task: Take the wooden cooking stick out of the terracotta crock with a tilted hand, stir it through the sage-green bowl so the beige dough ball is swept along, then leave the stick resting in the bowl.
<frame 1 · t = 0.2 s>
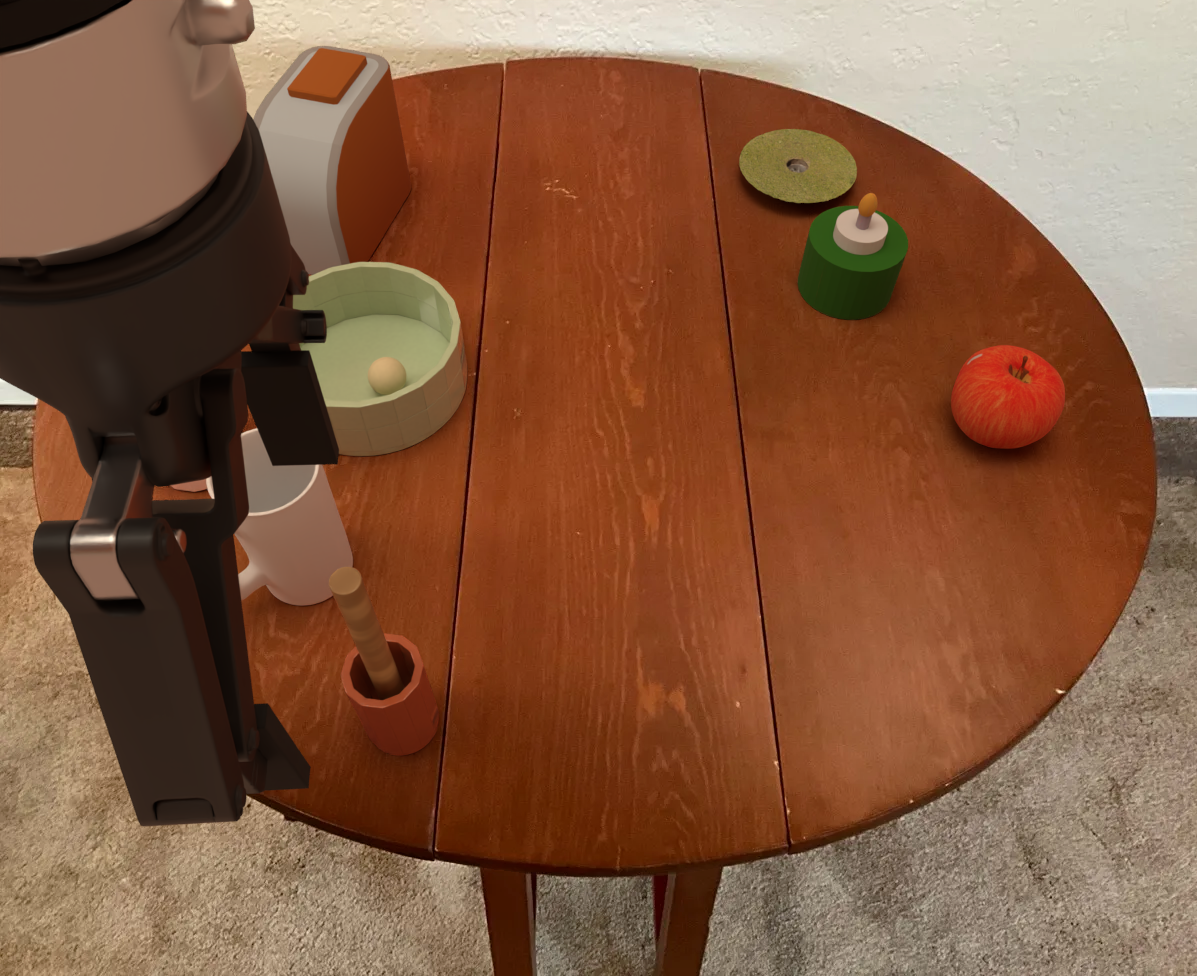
hand: (290, 603, 37), 26 cm above the table, tool pointing down, fingers open, 13 cm apart
mat: (794, 182, 94), on the table
white cup: (203, 458, 74), on the table
dough ball: (387, 376, 76), point 2 cm above the table, touching bowl
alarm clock: (346, 223, 90), on the table
bowl: (373, 381, 79), on the table
apple: (989, 428, 77), on the table
mug: (291, 584, 68), on the table
cooking stick: (402, 718, 62), resting on crock
crock: (403, 721, 62), on the table
candle: (843, 287, 86), on the table
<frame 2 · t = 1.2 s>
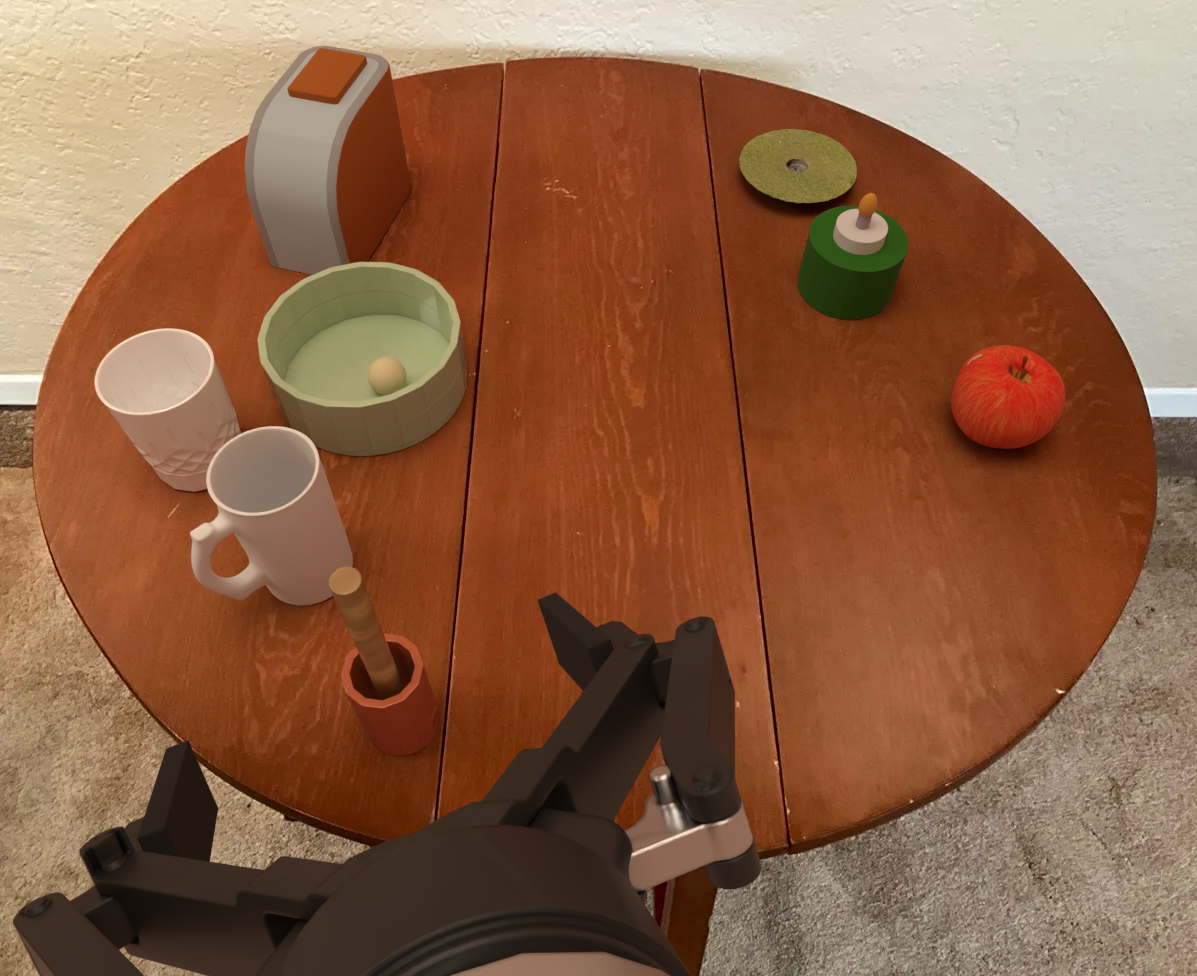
hand: (383, 699, 35), 27 cm above the table, tool tilted 45°, fingers open, 13 cm apart
nothing on the table moved.
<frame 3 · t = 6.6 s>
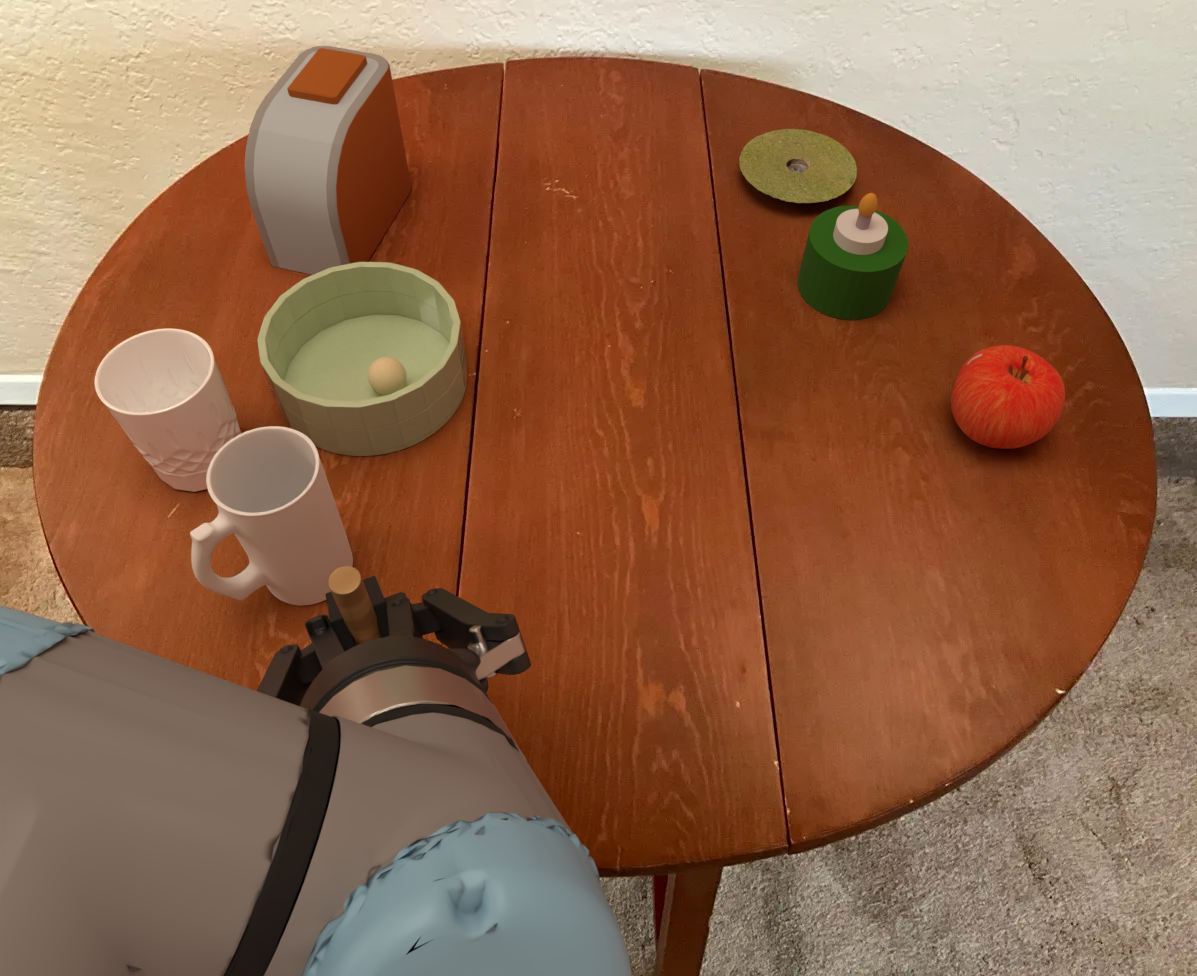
hand: (358, 605, 57), 9 cm above the table, tool tilted 45°, fingers closed on cooking stick, 1 cm apart
cooking stick: (401, 717, 62), point 1 cm above the table, touching gripper
everything else where it was.
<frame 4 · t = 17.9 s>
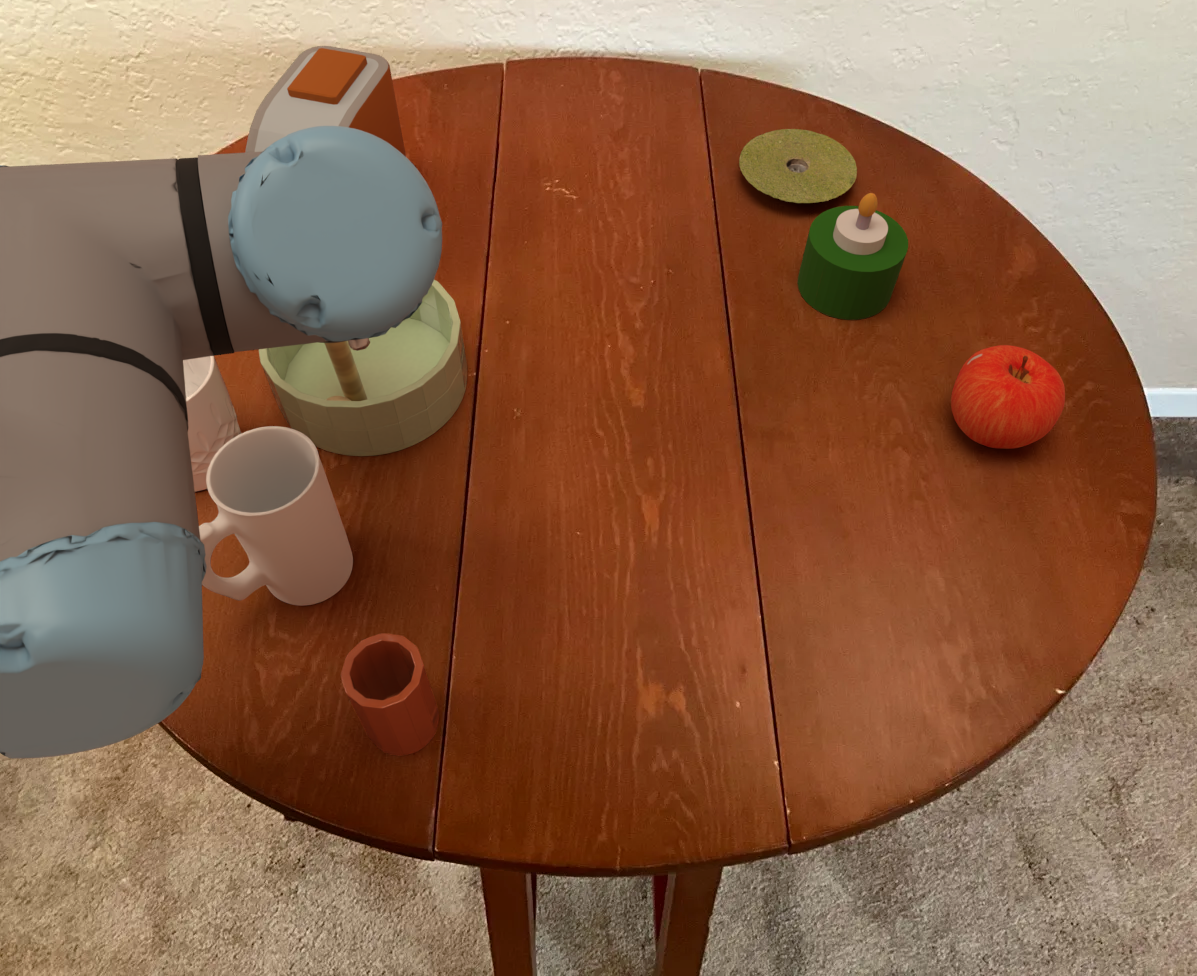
hand: (314, 295, 71), 10 cm above the table, tool tilted 45°, fingers closed on cooking stick, 2 cm apart
dough ball: (338, 415, 74), point 2 cm above the table, tilted 164°, touching bowl, cooking stick
cooking stick: (357, 402, 76), point 1 cm above the table, touching dough ball, gripper
everything else where it was.
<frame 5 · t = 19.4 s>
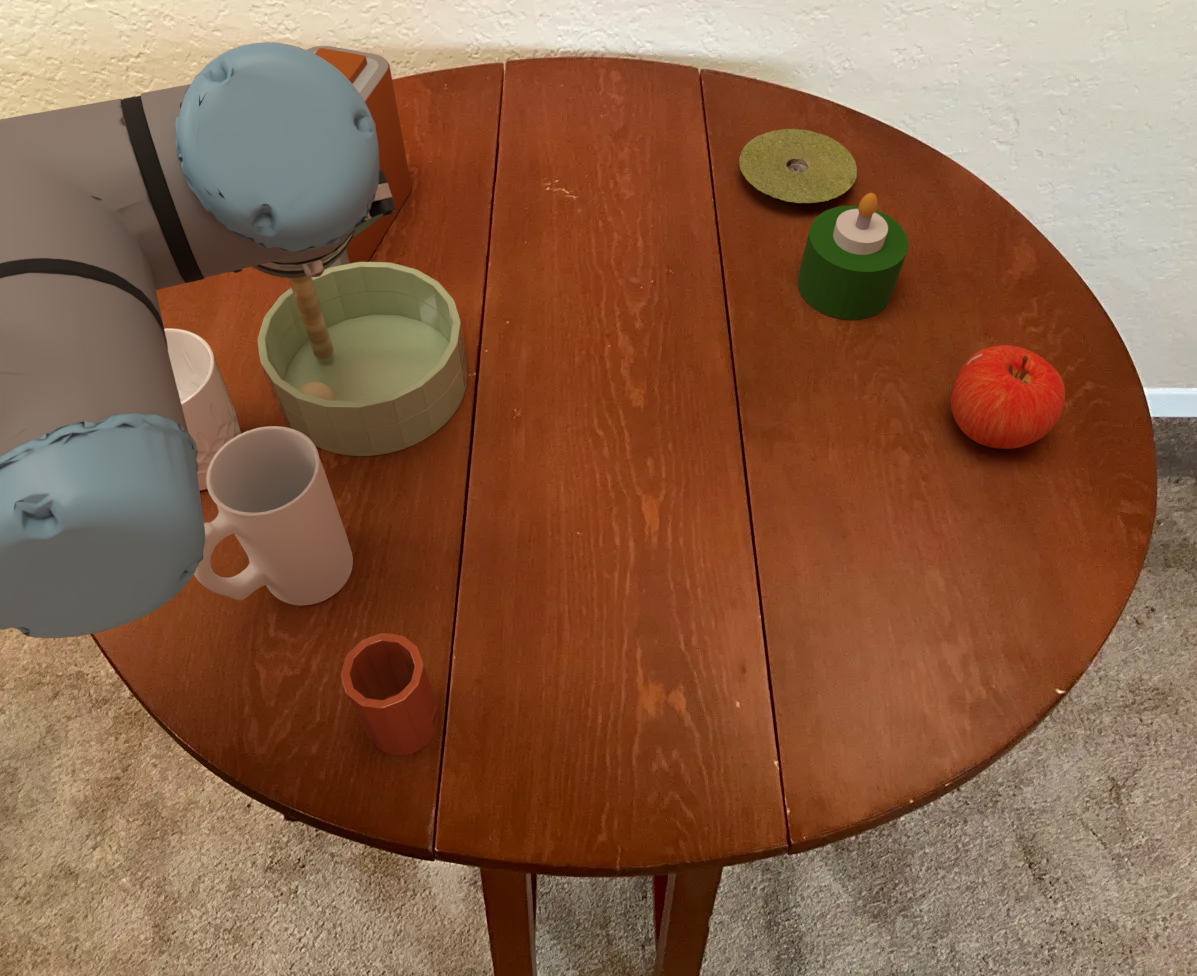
hand: (288, 248, 73), 10 cm above the table, tool tilted 45°, fingers closed on cooking stick, 2 cm apart
dough ball: (315, 401, 75), point 2 cm above the table, tilted 150°, touching bowl
cooking stick: (323, 351, 78), point 2 cm above the table, touching gripper
everything else where it was.
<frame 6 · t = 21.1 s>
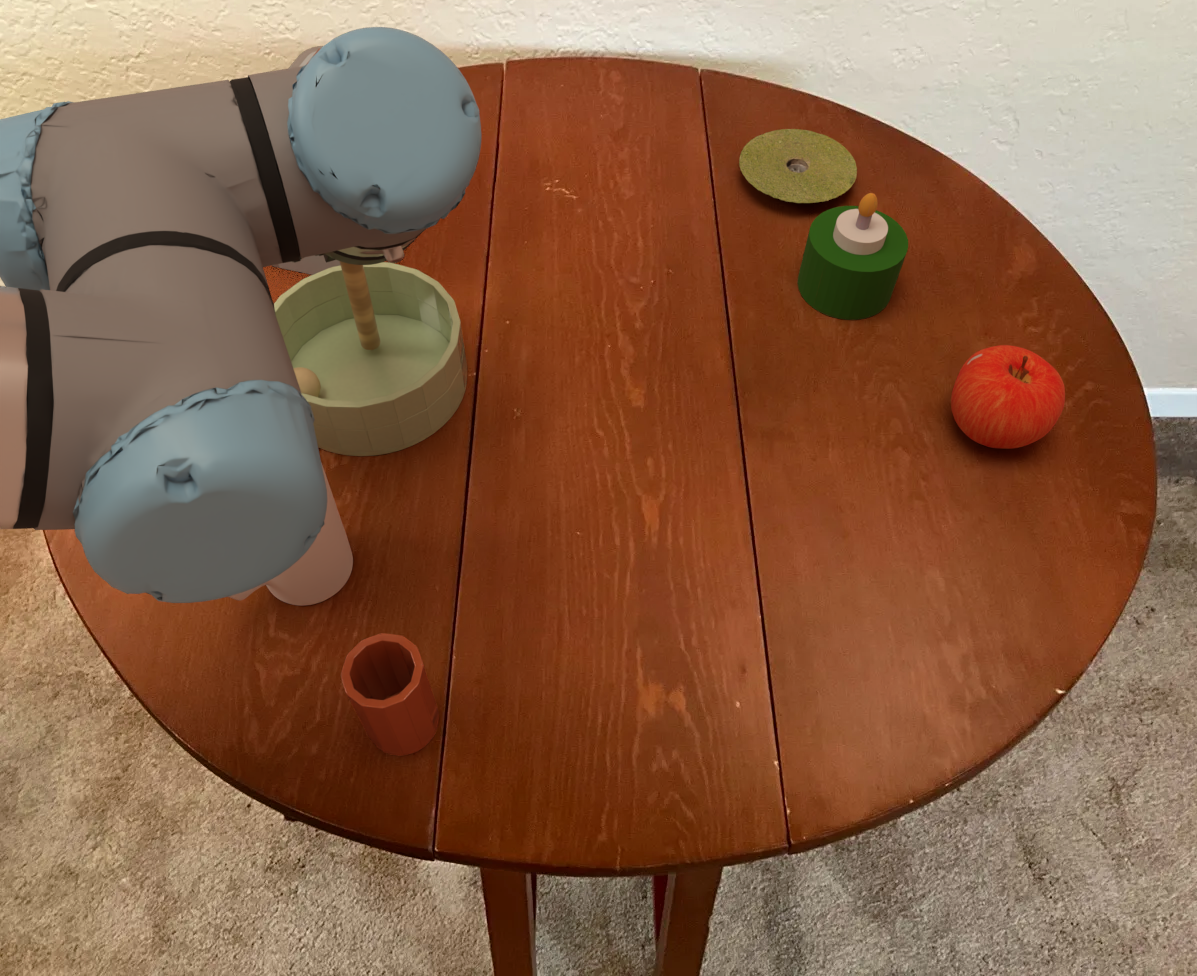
hand: (339, 239, 74), 10 cm above the table, tool tilted 45°, fingers closed on cooking stick, 2 cm apart
dough ball: (300, 386, 76), point 2 cm above the table, tilted 72°, touching bowl
cooking stick: (370, 342, 79), point 2 cm above the table, touching gripper
everything else where it was.
when the fingers open (9 cm above the table, at t = 22.2 s): cooking stick stays where it is, resting on bowl.
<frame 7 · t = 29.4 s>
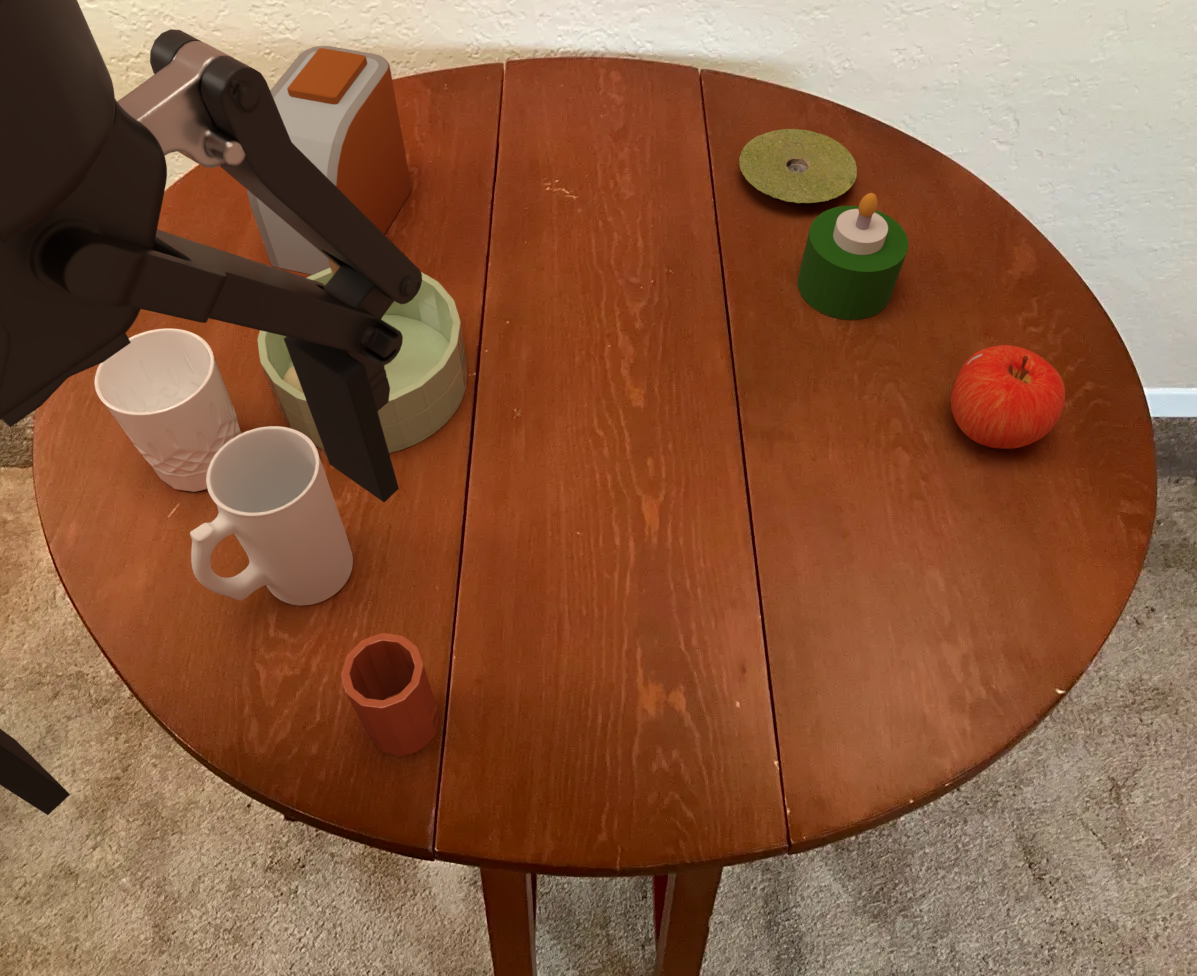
hand: (214, 612, 31), 32 cm above the table, tool pointing down, fingers open, 13 cm apart
cooking stick: (369, 368, 79), point 1 cm above the table, touching bowl
at the end: cooking stick inside the target area in the bowl (1.0 cm from its centre), point 0.6 cm above the bowl's base; dough ball moved 6.5 cm from its start; the gripper is holding nothing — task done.
